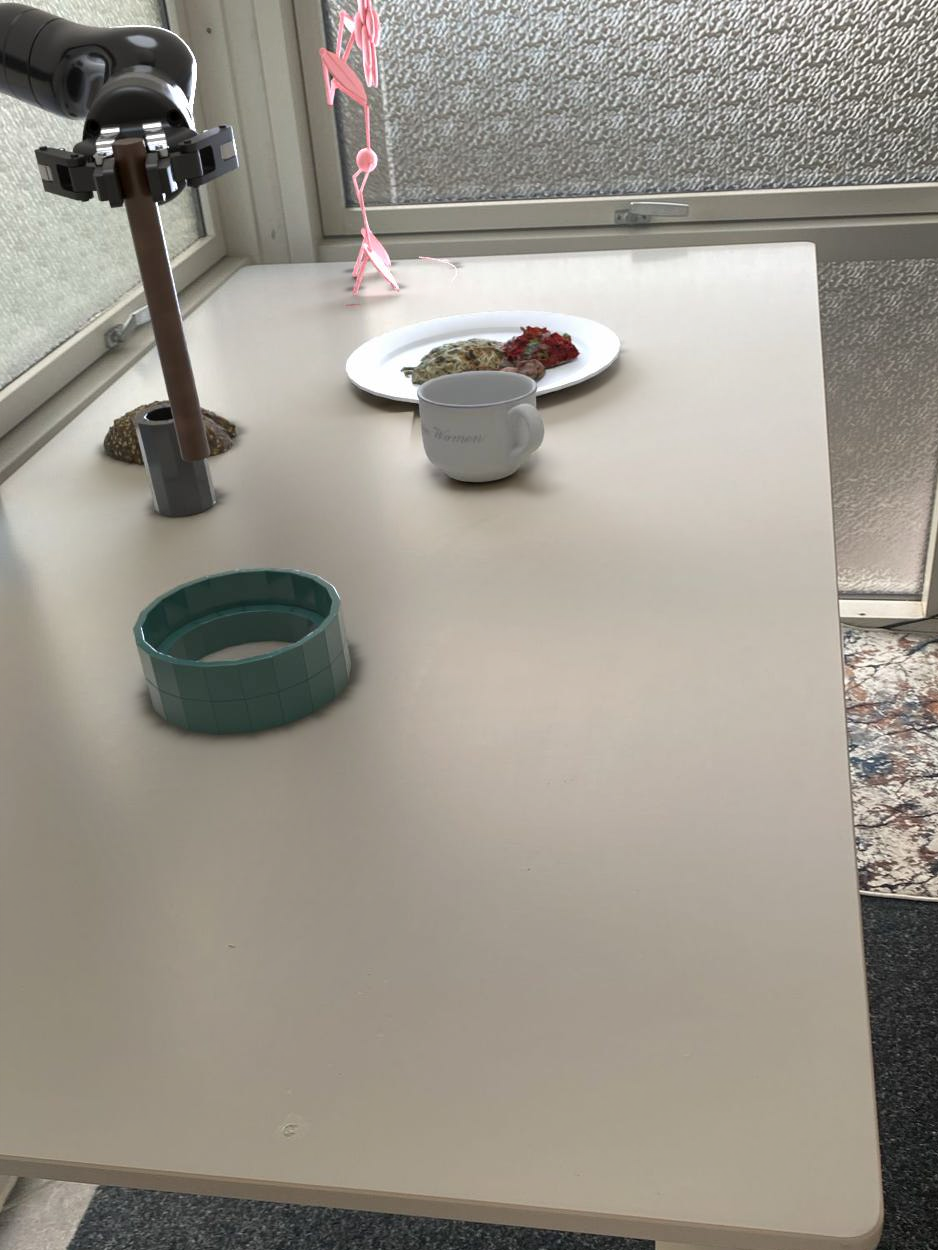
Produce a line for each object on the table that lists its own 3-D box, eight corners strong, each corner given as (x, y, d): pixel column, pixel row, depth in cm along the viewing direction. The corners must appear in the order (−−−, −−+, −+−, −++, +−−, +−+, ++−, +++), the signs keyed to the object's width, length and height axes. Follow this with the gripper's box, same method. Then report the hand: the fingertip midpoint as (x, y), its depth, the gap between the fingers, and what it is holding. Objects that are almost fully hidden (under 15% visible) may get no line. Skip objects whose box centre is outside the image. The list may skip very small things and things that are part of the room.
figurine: (347, 314, 168) (301, -15, 146) (347, 262, 188) (307, -34, 167) (468, 301, 168) (440, -30, 147) (454, 250, 188) (428, -47, 167)
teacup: (407, 466, 126) (396, 382, 121) (507, 439, 130) (501, 355, 125) (473, 515, 116) (465, 425, 111) (580, 484, 120) (577, 395, 115)
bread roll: (91, 455, 136) (78, 406, 133) (190, 417, 142) (180, 370, 139) (162, 482, 128) (150, 432, 125) (264, 441, 135) (254, 392, 131)
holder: (152, 525, 120) (128, 427, 115) (164, 500, 125) (141, 405, 119) (211, 520, 120) (189, 422, 114) (221, 496, 124) (200, 400, 119)
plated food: (294, 381, 149) (289, 350, 147) (493, 312, 163) (491, 283, 161) (471, 441, 130) (468, 407, 128) (677, 357, 145) (678, 325, 143)
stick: (179, 462, 93) (107, 145, 81) (184, 452, 95) (114, 139, 83) (207, 460, 93) (139, 142, 81) (212, 449, 95) (146, 136, 83)
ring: (134, 749, 90) (112, 672, 87) (174, 646, 102) (156, 574, 98) (342, 736, 90) (328, 658, 86) (359, 634, 101) (348, 561, 97)
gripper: (248, 183, 97) (258, 238, 84) (57, 207, 96) (35, 267, 82) (228, 64, 93) (234, 102, 79) (27, 88, 91) (-2, 131, 78)
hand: (133, 186), depth 81 cm, fingers closed on stick, 2 cm apart
